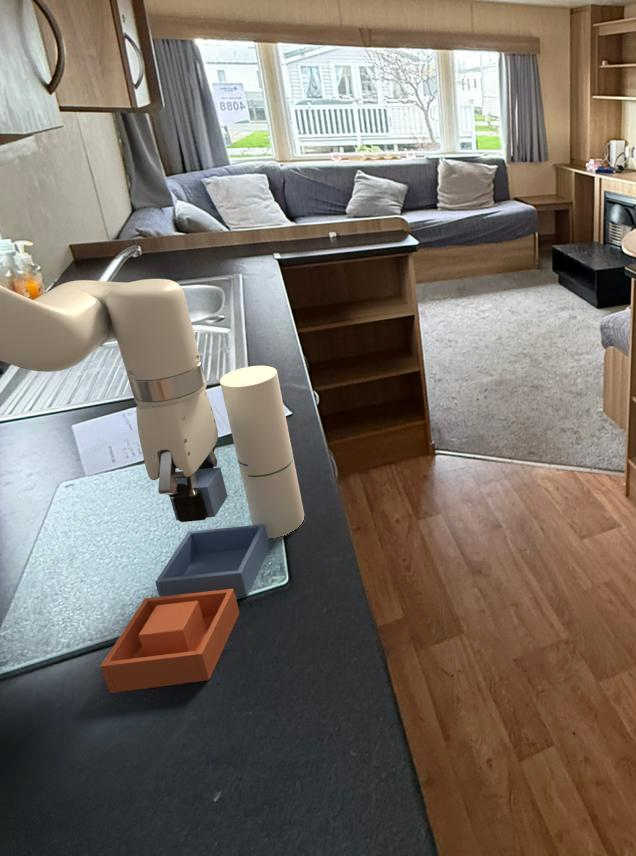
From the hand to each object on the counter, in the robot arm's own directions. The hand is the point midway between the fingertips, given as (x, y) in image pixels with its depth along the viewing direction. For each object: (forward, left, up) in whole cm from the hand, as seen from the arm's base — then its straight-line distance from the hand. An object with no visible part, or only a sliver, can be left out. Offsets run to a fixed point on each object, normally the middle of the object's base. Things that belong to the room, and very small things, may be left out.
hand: (201, 505), depth 85 cm
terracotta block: (0, -13, -11) cm, 17 cm away
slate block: (0, 0, 0) cm, 0 cm away
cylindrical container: (+5, +11, -12) cm, 16 cm away
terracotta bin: (0, -13, -11) cm, 17 cm away
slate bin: (0, 0, -11) cm, 11 cm away
